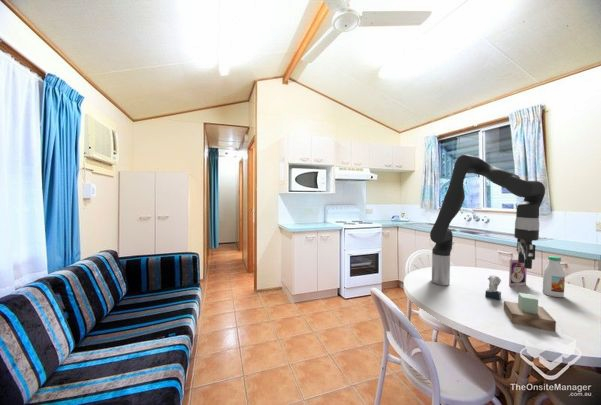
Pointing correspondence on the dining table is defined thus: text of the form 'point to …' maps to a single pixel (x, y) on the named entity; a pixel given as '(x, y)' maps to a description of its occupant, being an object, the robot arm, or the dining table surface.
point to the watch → (493, 288)
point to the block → (528, 303)
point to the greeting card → (517, 273)
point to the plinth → (529, 317)
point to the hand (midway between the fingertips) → (524, 265)
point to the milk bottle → (553, 278)
